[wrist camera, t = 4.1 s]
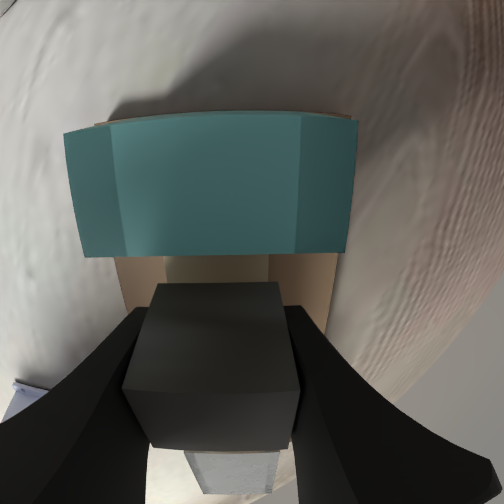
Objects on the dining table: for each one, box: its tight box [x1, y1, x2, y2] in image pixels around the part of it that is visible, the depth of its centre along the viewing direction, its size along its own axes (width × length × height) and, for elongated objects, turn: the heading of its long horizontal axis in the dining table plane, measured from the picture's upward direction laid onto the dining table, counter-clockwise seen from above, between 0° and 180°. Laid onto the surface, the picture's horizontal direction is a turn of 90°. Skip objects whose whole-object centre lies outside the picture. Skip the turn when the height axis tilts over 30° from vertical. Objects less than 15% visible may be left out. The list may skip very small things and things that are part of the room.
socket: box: [63, 111, 358, 257], centre depth 9 cm, size 6×3×6 cm, turn 90°
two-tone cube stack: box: [122, 254, 300, 452], centre depth 11 cm, size 4×14×7 cm, turn 0°
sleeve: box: [184, 450, 280, 495], centre depth 17 cm, size 5×8×5 cm, turn 0°
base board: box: [94, 110, 351, 442], centre depth 16 cm, size 10×23×1 cm, turn 0°
